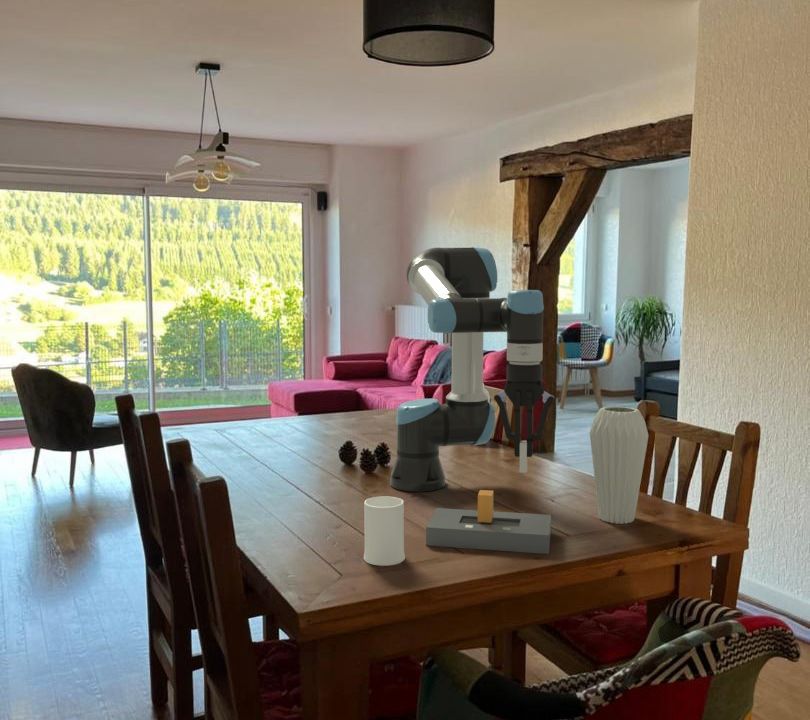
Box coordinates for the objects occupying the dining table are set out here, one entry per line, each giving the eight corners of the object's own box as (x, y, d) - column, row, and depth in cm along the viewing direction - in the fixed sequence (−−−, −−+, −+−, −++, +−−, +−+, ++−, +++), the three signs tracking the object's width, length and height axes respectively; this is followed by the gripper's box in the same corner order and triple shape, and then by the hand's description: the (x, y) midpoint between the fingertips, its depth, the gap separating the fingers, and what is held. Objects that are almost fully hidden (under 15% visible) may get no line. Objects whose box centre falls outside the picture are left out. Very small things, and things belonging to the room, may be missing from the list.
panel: (426, 545, 170) (426, 526, 169) (436, 524, 183) (437, 507, 183) (548, 553, 164) (549, 534, 164) (550, 532, 178) (551, 514, 178)
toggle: (477, 521, 172) (477, 494, 171) (479, 516, 176) (479, 489, 175) (491, 522, 171) (491, 495, 171) (493, 517, 175) (493, 490, 175)
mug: (351, 550, 167) (350, 494, 166) (387, 543, 171) (387, 489, 169) (373, 568, 157) (373, 510, 155) (412, 561, 160) (412, 504, 159)
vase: (636, 531, 178) (640, 416, 175) (579, 521, 185) (582, 411, 182) (652, 515, 190) (655, 407, 187) (598, 507, 197) (600, 402, 194)
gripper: (492, 364, 166) (491, 474, 168) (555, 365, 163) (553, 477, 165) (495, 360, 173) (494, 466, 175) (556, 361, 170) (554, 468, 173)
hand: (523, 471), depth 170 cm, fingers closed
